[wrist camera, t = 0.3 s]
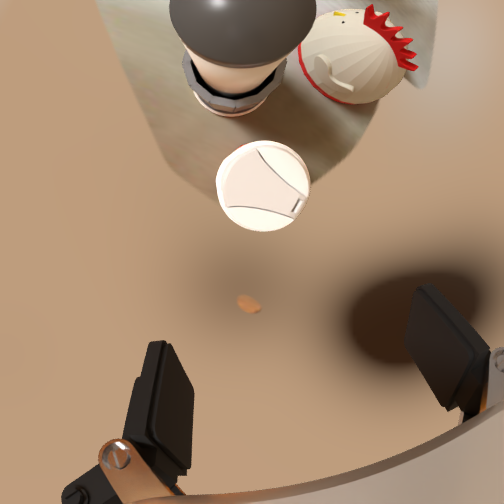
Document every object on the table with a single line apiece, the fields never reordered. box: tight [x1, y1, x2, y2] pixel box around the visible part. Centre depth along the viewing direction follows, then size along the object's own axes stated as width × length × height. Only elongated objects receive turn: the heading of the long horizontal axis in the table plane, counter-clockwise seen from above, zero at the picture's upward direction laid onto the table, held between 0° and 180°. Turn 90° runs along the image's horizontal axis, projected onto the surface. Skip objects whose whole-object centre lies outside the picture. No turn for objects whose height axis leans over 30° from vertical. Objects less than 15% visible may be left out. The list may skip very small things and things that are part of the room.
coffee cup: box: [216, 141, 311, 232], centre depth 30 cm, size 8×8×15 cm
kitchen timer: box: [298, 4, 418, 104], centre depth 25 cm, size 14×14×15 cm
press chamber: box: [182, 49, 287, 117], centre depth 27 cm, size 10×10×12 cm
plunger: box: [169, 0, 316, 98], centre depth 17 cm, size 6×6×17 cm
